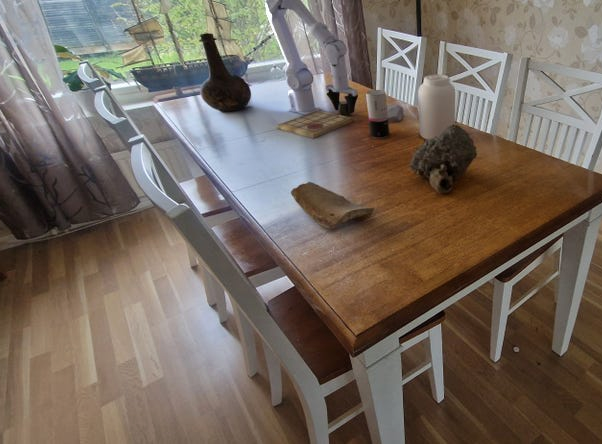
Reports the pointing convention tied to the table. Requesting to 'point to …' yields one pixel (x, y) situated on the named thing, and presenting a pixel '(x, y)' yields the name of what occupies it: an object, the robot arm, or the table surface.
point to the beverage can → (377, 113)
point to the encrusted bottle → (444, 158)
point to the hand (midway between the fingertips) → (344, 111)
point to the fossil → (327, 205)
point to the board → (315, 123)
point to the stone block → (395, 113)
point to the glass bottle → (222, 81)
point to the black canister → (343, 108)
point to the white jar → (436, 105)
